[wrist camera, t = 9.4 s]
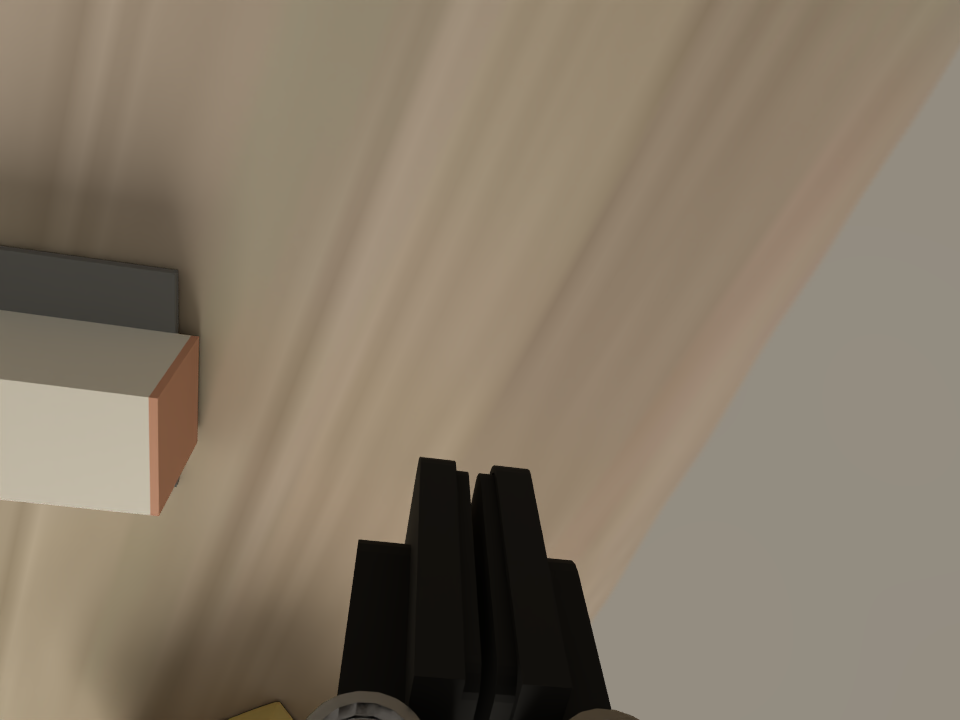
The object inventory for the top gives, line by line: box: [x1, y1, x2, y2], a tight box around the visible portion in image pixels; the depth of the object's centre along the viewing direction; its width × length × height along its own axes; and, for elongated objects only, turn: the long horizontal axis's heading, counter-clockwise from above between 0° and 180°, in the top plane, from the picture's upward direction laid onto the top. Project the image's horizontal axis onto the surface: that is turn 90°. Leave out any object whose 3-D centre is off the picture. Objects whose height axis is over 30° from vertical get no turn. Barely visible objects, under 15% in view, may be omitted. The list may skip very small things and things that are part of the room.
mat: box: [0, 246, 179, 487], centre depth 30 cm, size 10×12×1 cm
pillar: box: [0, 310, 199, 516], centre depth 28 cm, size 5×5×12 cm
